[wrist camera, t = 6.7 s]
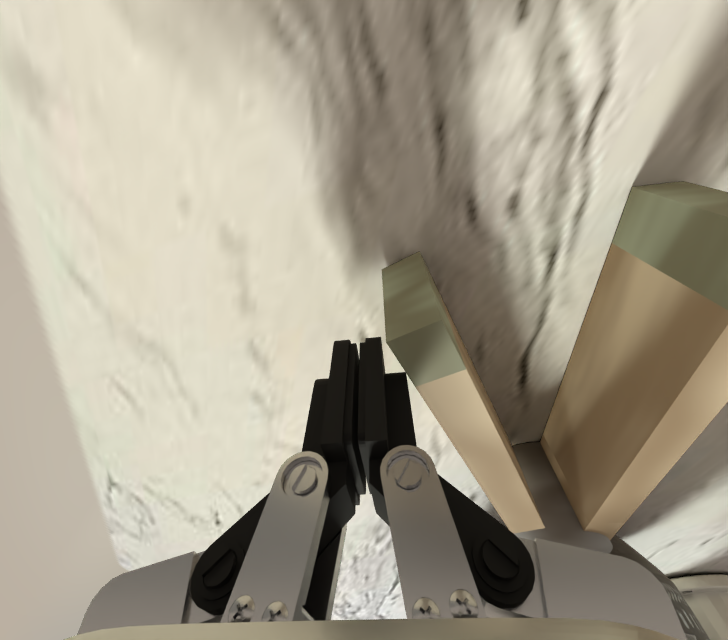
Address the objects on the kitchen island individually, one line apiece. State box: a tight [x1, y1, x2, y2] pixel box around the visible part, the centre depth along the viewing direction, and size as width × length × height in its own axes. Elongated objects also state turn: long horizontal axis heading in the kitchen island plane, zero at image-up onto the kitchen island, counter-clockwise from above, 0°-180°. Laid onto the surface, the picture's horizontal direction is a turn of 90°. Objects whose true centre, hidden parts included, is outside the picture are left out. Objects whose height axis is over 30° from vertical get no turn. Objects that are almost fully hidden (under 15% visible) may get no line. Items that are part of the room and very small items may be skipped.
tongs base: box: [512, 181, 728, 554], centre depth 14 cm, size 4×19×5 cm, turn 7°
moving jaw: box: [382, 251, 545, 533], centre depth 13 cm, size 2×14×4 cm, turn 29°
